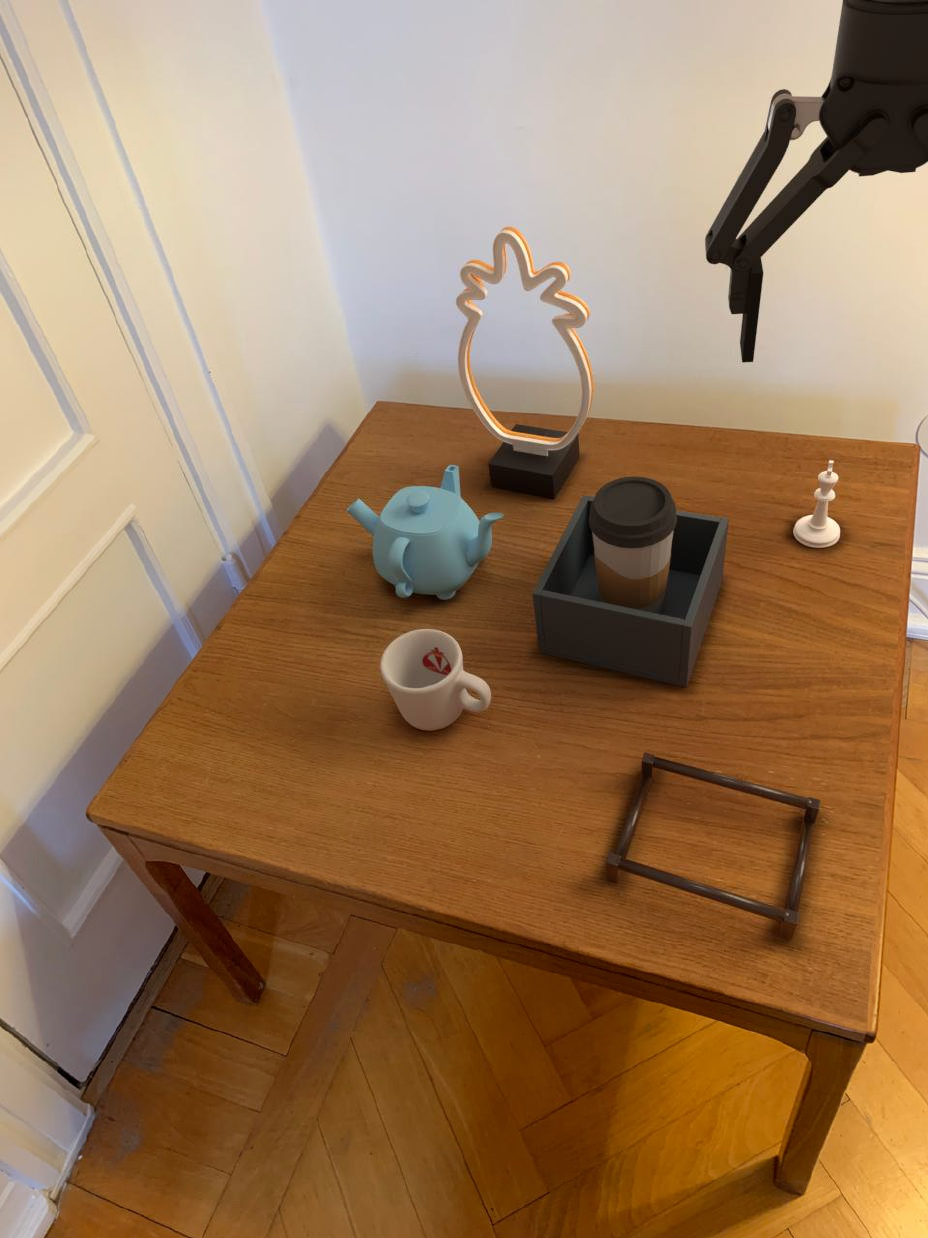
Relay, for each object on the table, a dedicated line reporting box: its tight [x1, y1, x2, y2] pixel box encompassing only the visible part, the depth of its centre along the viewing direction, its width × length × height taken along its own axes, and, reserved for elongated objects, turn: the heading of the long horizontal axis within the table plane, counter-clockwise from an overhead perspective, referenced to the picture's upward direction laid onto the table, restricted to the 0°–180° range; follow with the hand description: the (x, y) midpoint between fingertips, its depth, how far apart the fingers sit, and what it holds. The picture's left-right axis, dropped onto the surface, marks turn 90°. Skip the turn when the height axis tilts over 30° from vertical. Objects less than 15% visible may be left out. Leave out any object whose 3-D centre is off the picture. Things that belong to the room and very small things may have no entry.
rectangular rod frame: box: [605, 751, 822, 941], centre depth 72 cm, size 15×11×3 cm
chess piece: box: [792, 459, 841, 549], centre depth 93 cm, size 5×5×10 cm
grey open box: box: [531, 494, 730, 688], centre depth 89 cm, size 16×16×9 cm
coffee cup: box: [589, 475, 677, 614], centre depth 86 cm, size 8×8×15 cm
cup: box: [379, 628, 492, 732], centre depth 84 cm, size 11×8×8 cm
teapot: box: [346, 464, 504, 601], centre depth 97 cm, size 15×14×11 cm
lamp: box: [455, 226, 595, 500], centre depth 100 cm, size 17×9×32 cm, turn 64°
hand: (847, 348), depth 60 cm, fingers open, 13 cm apart
